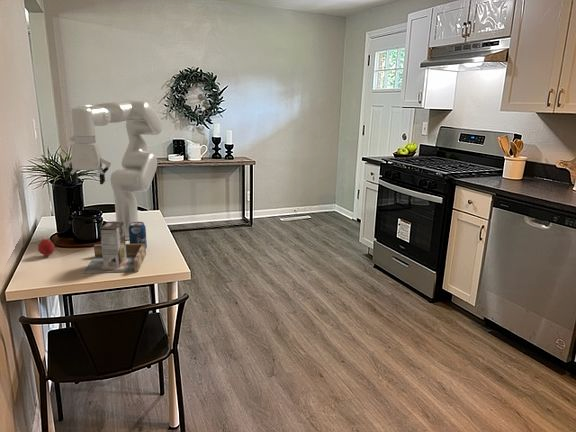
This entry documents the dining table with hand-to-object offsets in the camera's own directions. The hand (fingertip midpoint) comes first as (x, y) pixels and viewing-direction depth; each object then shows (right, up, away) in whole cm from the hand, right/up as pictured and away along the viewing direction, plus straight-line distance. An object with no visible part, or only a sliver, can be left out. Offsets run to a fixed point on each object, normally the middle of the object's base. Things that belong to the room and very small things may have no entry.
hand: (89, 183), depth 168 cm
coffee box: (+11, -32, 0) cm, 34 cm away
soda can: (+14, -28, +16) cm, 35 cm away
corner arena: (+10, -32, 0) cm, 33 cm away
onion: (-20, -30, +6) cm, 36 cm away
